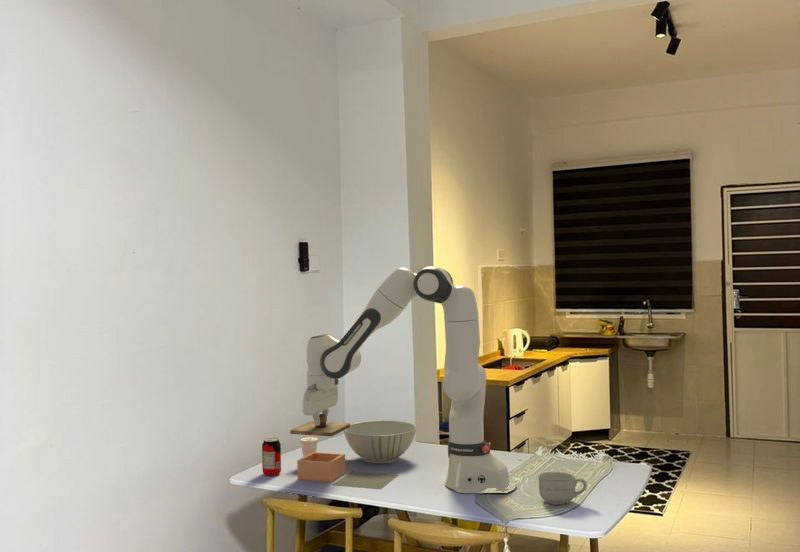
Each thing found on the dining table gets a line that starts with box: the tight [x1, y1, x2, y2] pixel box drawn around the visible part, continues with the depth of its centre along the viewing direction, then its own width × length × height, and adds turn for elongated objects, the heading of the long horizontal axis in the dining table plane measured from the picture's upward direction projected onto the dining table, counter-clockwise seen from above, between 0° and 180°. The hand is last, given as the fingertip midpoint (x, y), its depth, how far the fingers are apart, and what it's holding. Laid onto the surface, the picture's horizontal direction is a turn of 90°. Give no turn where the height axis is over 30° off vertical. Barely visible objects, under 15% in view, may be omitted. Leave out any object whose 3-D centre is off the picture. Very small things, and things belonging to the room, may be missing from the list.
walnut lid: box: [289, 413, 350, 437], centre depth 240 cm, size 15×15×5 cm
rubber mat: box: [332, 470, 399, 490], centre depth 235 cm, size 17×17×1 cm
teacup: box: [537, 471, 588, 505], centre depth 209 cm, size 14×11×8 cm
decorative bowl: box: [343, 419, 417, 464], centre depth 262 cm, size 27×27×12 cm
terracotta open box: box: [296, 451, 346, 484], centre depth 240 cm, size 12×12×7 cm
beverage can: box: [261, 437, 282, 477], centre depth 246 cm, size 6×6×12 cm
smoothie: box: [299, 435, 319, 458], centre depth 256 cm, size 6×6×14 cm
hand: (320, 423), depth 240 cm, fingers closed on walnut lid, 4 cm apart
